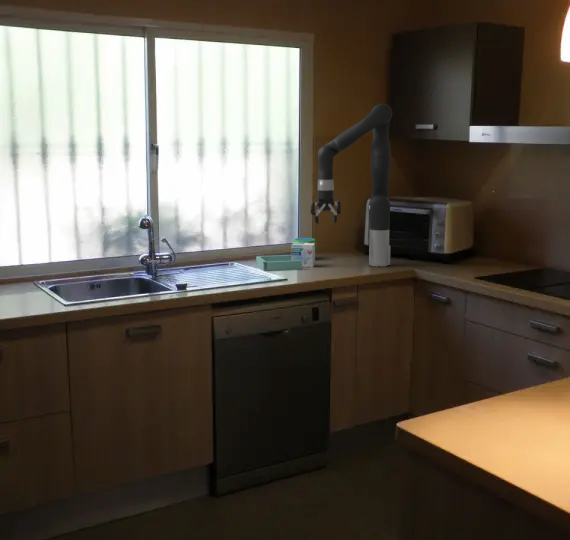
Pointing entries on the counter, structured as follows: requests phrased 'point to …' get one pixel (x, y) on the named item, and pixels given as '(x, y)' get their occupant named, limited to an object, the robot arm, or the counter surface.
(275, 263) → the corral
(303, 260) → the light bulb box
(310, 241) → the snack cup
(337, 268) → the counter surface
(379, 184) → the robot arm
